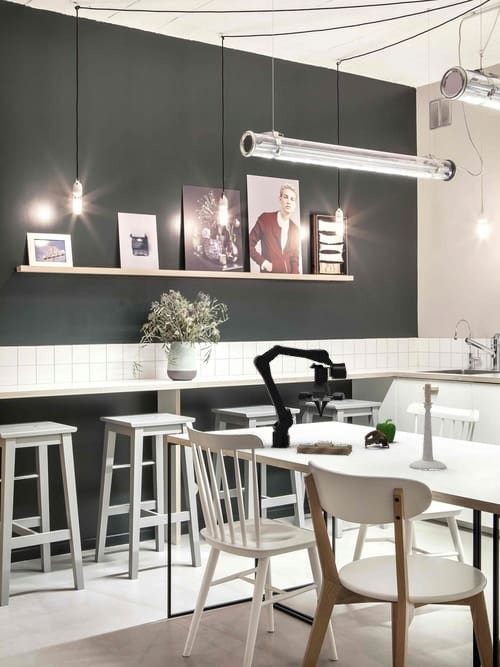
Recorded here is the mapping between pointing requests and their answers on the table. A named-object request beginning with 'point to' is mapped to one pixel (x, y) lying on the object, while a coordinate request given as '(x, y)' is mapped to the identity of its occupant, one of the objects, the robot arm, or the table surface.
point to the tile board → (324, 450)
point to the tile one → (308, 444)
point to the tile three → (341, 446)
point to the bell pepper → (387, 430)
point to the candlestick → (427, 439)
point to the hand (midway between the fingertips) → (321, 417)
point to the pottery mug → (376, 438)
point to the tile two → (324, 443)
